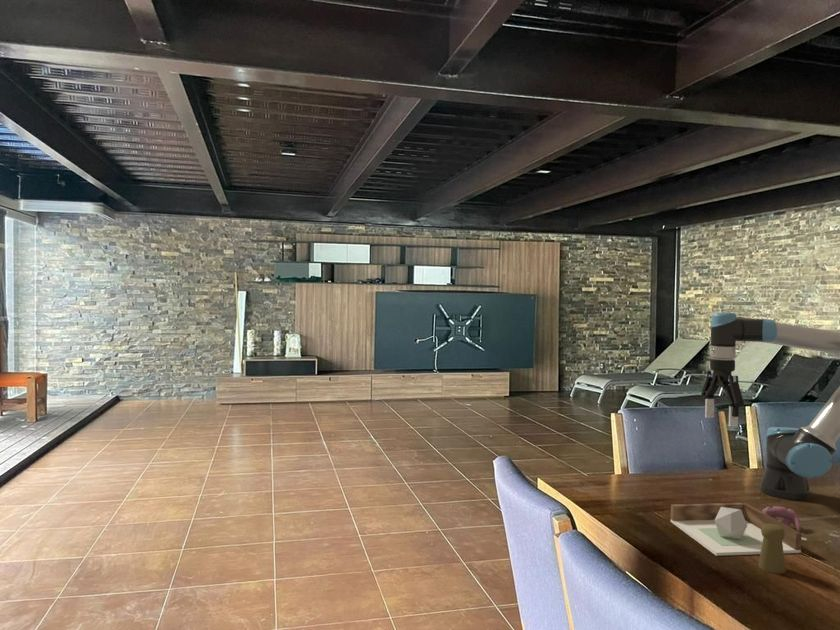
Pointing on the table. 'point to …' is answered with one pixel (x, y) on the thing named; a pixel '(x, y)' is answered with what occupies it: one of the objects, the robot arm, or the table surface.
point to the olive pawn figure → (772, 549)
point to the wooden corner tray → (703, 530)
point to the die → (730, 523)
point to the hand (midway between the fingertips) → (720, 421)
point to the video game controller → (784, 515)
